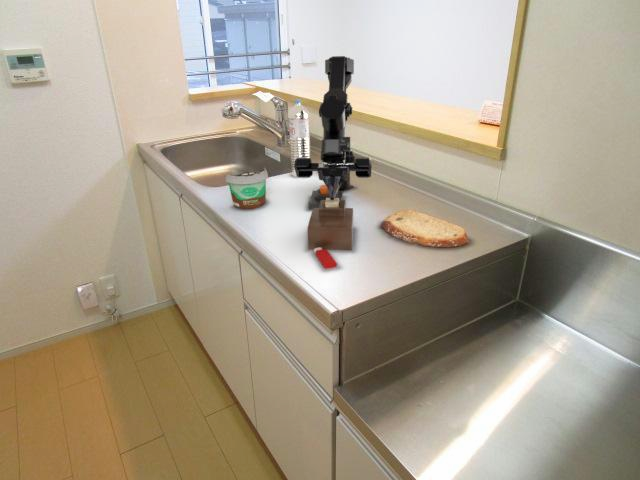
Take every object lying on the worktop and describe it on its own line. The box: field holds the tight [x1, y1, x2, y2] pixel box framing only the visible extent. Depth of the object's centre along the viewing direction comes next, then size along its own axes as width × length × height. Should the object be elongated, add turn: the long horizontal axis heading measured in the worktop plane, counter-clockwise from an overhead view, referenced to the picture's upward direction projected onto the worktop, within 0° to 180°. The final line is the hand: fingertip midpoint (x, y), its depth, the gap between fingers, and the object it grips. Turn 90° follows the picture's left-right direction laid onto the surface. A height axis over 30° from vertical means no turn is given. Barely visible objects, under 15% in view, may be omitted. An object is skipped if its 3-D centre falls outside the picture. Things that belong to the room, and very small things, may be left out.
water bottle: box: [287, 98, 312, 178], centre depth 150 cm, size 7×7×25 cm
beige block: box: [325, 198, 339, 207], centre depth 109 cm, size 3×3×2 cm
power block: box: [308, 188, 344, 211], centre depth 130 cm, size 11×9×4 cm
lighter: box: [313, 247, 338, 269], centre depth 99 cm, size 3×1×8 cm
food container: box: [225, 167, 269, 211], centre depth 127 cm, size 12×6×10 cm, turn 118°
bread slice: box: [380, 209, 469, 248], centre depth 110 cm, size 18×18×4 cm
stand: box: [307, 199, 354, 251], centre depth 107 cm, size 13×10×8 cm
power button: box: [319, 184, 329, 194], centre depth 129 cm, size 4×4×2 cm
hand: (332, 199), depth 108 cm, fingers closed, pressing on beige block
